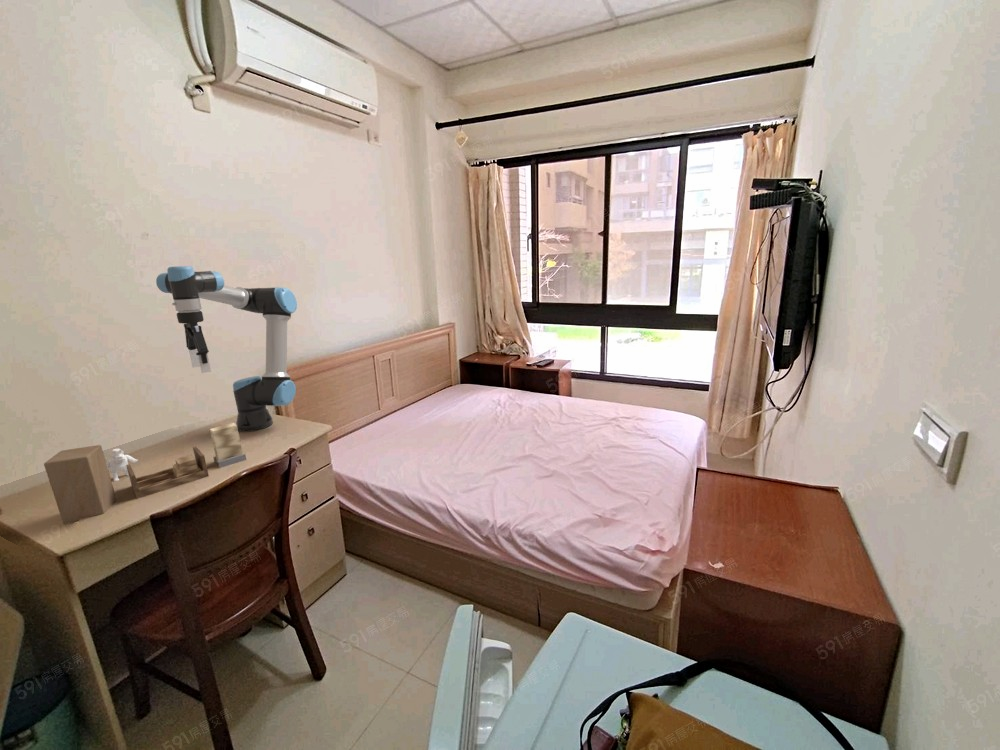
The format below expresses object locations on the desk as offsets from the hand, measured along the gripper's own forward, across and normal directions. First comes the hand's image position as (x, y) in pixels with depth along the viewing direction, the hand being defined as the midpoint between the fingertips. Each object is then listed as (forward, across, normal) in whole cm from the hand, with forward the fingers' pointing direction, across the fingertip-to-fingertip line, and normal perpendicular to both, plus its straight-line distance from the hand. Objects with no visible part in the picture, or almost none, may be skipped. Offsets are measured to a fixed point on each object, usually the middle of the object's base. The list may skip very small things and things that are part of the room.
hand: (201, 369), depth 159 cm
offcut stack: (+36, +7, -12) cm, 38 cm away
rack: (+37, +7, -17) cm, 41 cm away
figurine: (+37, -10, -28) cm, 47 cm away
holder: (+37, +5, +2) cm, 37 cm away
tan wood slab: (+36, +5, +2) cm, 36 cm away
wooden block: (+37, +10, -38) cm, 54 cm away
